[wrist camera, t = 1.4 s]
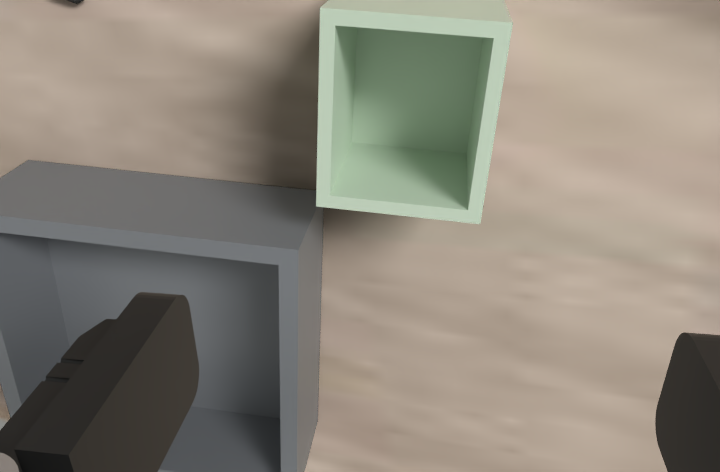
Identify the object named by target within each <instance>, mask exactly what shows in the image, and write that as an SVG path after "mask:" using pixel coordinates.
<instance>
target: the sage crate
mask: <svg viewBox="0 0 720 472" xmlns="http://www.w3.org/2000/svg"><path fill="white" fill-rule="evenodd" d="M512 25H513V22H512V19H511V17H510V14H509V12H508V9H507V6H506V4H505V1H504V0H328V1H327V2H326V3H325V4H324V5H323V6H321V7H320V34H319V84H318V135H317V185H316V207H326V208H335V209H344V210H354V211H363V212H372V213H381V214H391V215H400V216H409V217H419V218H428V219H437V220H446V221H456V222H465V223H474V224H480V222H481V216H482V210H483V204H484V197H485V191H486V185H487V179H488V173H489V167H490V160H491V154H492V148H493V142H494V136H495V130H496V123H497V117H498V111H499V105H500V99H501V93H502V87H503V80H504V74H505V68H506V62H507V56H508V50H509V43H510V37H511V31H512Z"/></svg>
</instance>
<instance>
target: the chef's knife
mask: <svg viewBox="0 0 720 472" xmlns="http://www.w3.org/2000/svg"><path fill="white" fill-rule="evenodd" d="M68 1H71V2H73V3H76V4H77V3H79V2H81V1H83V0H68Z"/></svg>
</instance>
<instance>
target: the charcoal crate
mask: <svg viewBox="0 0 720 472" xmlns="http://www.w3.org/2000/svg"><path fill="white" fill-rule="evenodd" d="M323 212H324V207H316V190H306V189H297V188H287V187H278V186H268V185H259V184H249V183H240V182H230V181H221V180H212V179H202V178H193V177H183V176H174V175H164V174H155V173H145V172H136V171H126V170H117V169H108V168H98V167H89V166H79V165H70V164H60V163H51V162H41V161H32V160H28V161H26V162H24V163H23V164H21V165H20V166H18V167H17V168H15V169H14V170H12V171H10V172H9V173H7V174H6V175H4V176H3V177H1V178H0V383H1V387H2V390H3V393H4V397H5V400H6V404H7V407H8V411H9V414H10V417H12V416H13V415H14V414H15V412H16V411H17V410H18V409H19V408H20V406H21V405H22V404H23V403H24V402H25V400H26V399H27V398H28V397H29V396H30V394H31V393H32V392H33V391H34V390H35V389H36V387H37V386H38V385H39V384H40V383H41V381H45V380H46V375H47V374H48V373H49V372H50V371H51V369H52V368H53V367H54V366H55V365H56V363H60V362H61V357H62V356H63V355H64V354H65V353H66V352H67V350H68V349H69V348H70V347H71V346H72V344H73V343H74V342H75V341H76V340H77V338H78V337H79V336H81V335H82V334H84V333H85V332H87V331H88V330H90V329H91V328H93V327H94V326H96V325H97V324H99V323H100V322H102V321H104V320H105V319H117V318H118V317H119V315H120V314H121V313H122V311H123V310H124V309H125V308H126V306H127V305H128V304H129V303H130V301H131V300H132V299H133V297H134V296H135V295H136V294H138V293H139V292H150V293H163V294H177V295H184V296H185V297H186V298H187V300H188V302H189V306H190V312H191V318H192V324H193V331H194V337H195V343H196V349H197V356H198V362H199V382H198V388H197V392H196V396H195V399H194V401H193V403H192V405H191V407H190V409H189V411H188V413H187V415H186V417H185V419H184V421H183V423H182V425H181V427H180V429H179V431H178V433H177V435H176V437H175V439H174V441H173V443H172V445H171V446H170V448H169V450H168V452H167V454H166V456H165V458H164V460H163V462H162V464H161V466H160V468H159V470H158V472H304V471H305V467H306V464H307V460H308V456H309V452H310V448H311V445H312V441H313V437H314V433H315V429H316V425H317V422H318V392H319V356H320V320H321V284H322V248H323Z"/></svg>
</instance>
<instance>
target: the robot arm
mask: <svg viewBox="0 0 720 472" xmlns="http://www.w3.org/2000/svg"><path fill="white" fill-rule="evenodd" d="M198 382H199V362H198V356H197V349H196V343H195V337H194V331H193V324H192V318H191V312H190V306H189V302H188V300H187V298H186V297H185V296H184V295H177V294H163V293H150V292H139V293H138V294H136V295H135V296H134V297H133V299H132V300H131V301H130V303H129V304H128V305H127V306H126V308H125V309H124V310H123V311H122V313H121V314H120V315H119V317H118V318H117V319H105V320H104V321H102V322H100V323H99V324H97V325H96V326H94V327H93V328H91V329H90V330H88V331H87V332H85V333H84V334H82V335H81V336H79V337H78V338H77V340H76V341H75V342H74V343H73V344H72V346H71V347H70V348H69V349H68V350H67V352H66V353H65V354H64V355H63V356H62V357H61V362H60V363H56V365H55V366H54V367H53V368H52V369H51V371H50V372H49V373H48V374H47V375H46V380H45V381H41V383H40V384H39V385H38V386H37V387H36V389H35V390H34V391H33V392H32V393H31V394H30V396H29V397H28V398H27V399H26V400H25V402H24V403H23V404H22V405H21V406H20V408H19V409H18V410H17V411H16V412H15V414H14V415H13V416H12V417H11V418H10V420H9V421H8V422H7V423H6V424H5V426H4V427H3V428H2V429H1V430H0V472H158V470H159V468H160V466H161V464H162V462H163V460H164V458H165V456H166V454H167V452H168V450H169V448H170V446H171V445H172V443H173V441H174V439H175V437H176V435H177V433H178V431H179V429H180V427H181V425H182V423H183V421H184V419H185V417H186V415H187V413H188V411H189V409H190V407H191V405H192V403H193V401H194V399H195V396H196V392H197V388H198ZM656 436H657V441H658V445H659V449H660V451H661V454H662V457H663V460H664V463H665V465H666V468H667V471H668V472H720V335H710V334H696V333H682V334H681V335H680V336H679V337H678V339H677V341H676V343H675V346H674V350H673V353H672V357H671V360H670V364H669V367H668V370H667V374H666V377H665V381H664V384H663V388H662V391H661V395H660V398H659V401H658V405H657V410H656Z"/></svg>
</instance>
